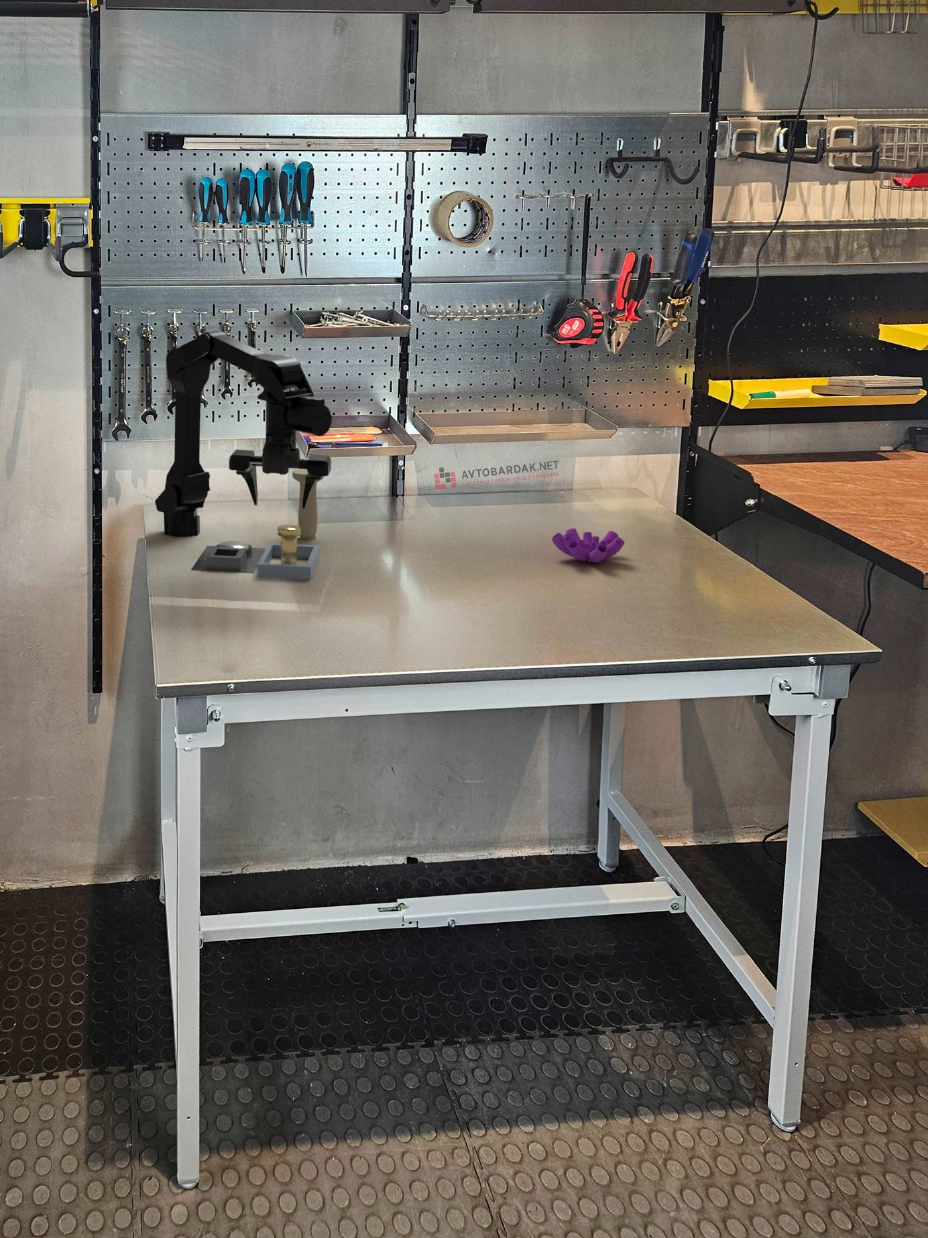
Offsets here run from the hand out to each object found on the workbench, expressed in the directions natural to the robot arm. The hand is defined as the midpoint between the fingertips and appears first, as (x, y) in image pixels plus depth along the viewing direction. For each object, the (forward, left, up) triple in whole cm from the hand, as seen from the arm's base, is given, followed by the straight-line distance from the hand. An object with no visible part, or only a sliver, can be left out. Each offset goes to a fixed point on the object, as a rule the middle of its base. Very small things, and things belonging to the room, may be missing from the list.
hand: (279, 506), depth 251 cm
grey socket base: (-10, +1, -13) cm, 16 cm away
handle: (+3, +19, -13) cm, 23 cm away
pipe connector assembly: (+61, +15, -13) cm, 64 cm away
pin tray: (+2, -2, -13) cm, 13 cm away
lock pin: (+2, -2, -12) cm, 12 cm away
